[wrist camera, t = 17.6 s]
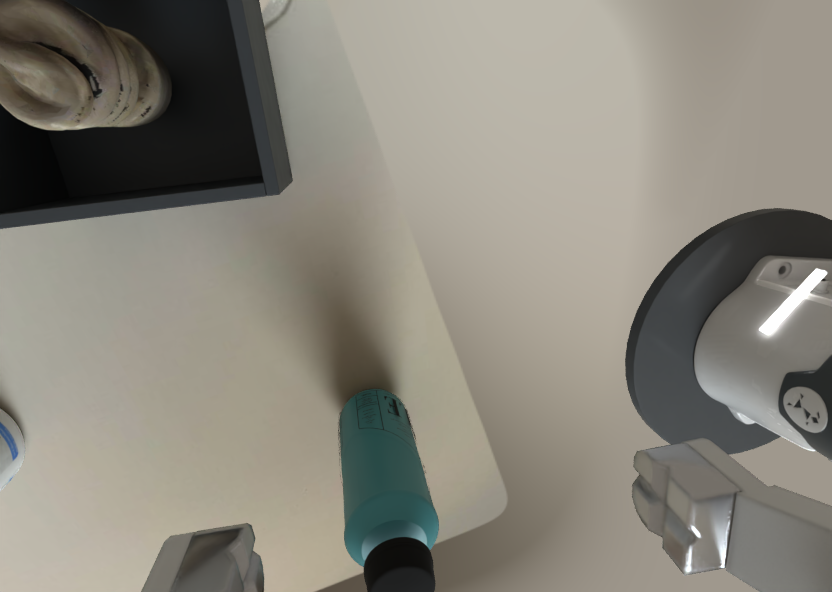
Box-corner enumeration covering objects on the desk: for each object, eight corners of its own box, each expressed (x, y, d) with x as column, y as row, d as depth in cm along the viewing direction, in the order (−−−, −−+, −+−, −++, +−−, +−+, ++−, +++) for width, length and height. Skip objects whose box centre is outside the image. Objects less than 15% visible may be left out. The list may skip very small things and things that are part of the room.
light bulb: (191, 143, 35) (94, 144, 20) (108, 124, 33) (-55, 111, 19) (199, 60, 33) (101, 1, 19) (113, 37, 32) (-60, -45, 18)
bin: (253, -33, 33) (222, -102, 23) (292, 181, 38) (280, 194, 28) (-8, -16, 31) (-157, -86, 21) (69, 208, 35) (-25, 232, 26)
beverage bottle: (326, 426, 45) (323, 629, 26) (355, 367, 43) (374, 537, 25) (387, 446, 47) (425, 650, 28) (417, 390, 45) (479, 565, 27)
